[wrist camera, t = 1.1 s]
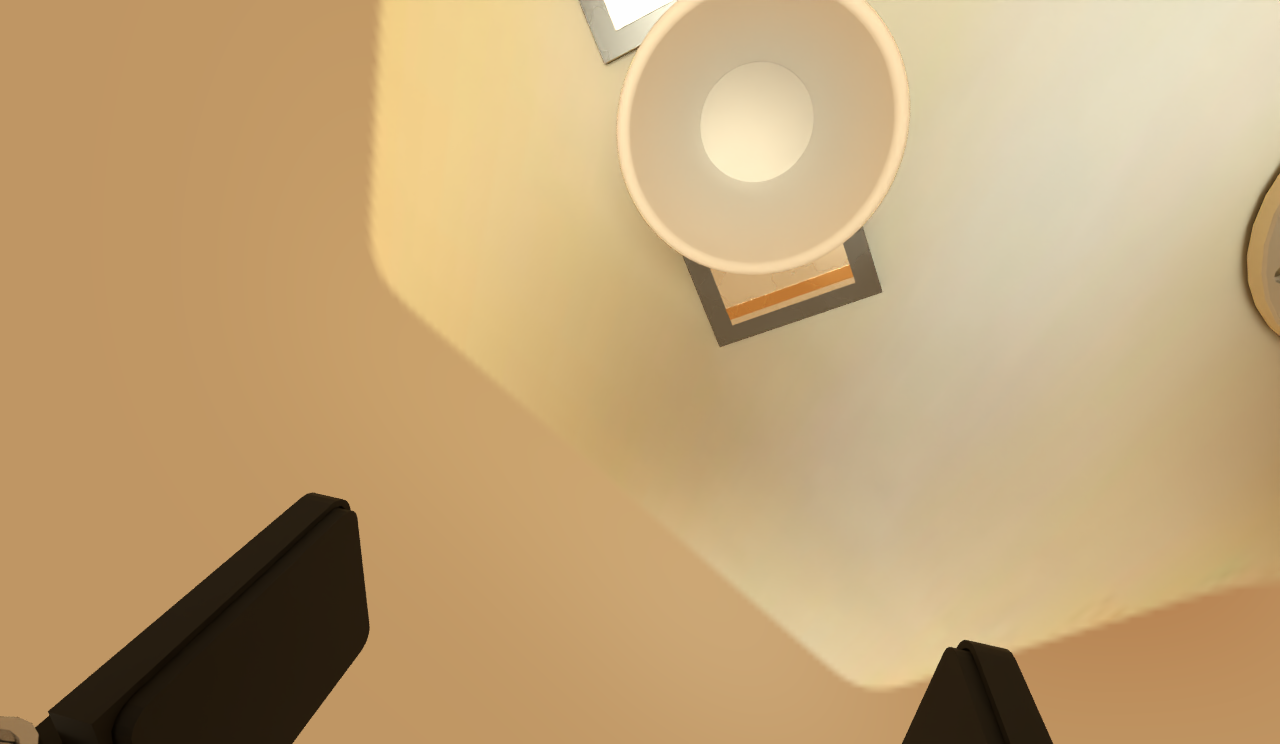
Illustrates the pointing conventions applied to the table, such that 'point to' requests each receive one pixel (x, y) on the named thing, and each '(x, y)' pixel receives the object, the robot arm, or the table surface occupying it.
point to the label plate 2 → (784, 291)
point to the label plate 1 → (621, 23)
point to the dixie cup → (762, 128)
